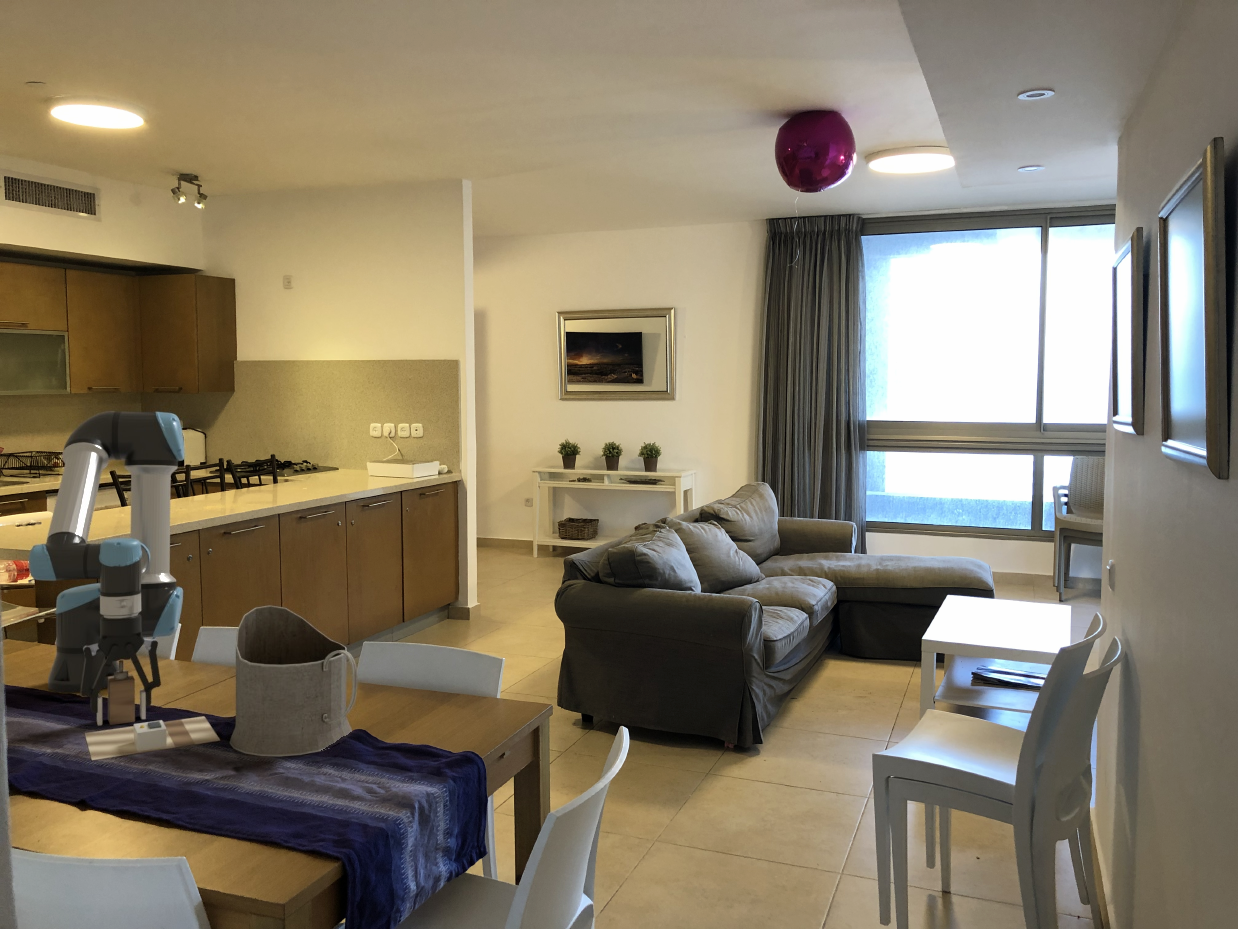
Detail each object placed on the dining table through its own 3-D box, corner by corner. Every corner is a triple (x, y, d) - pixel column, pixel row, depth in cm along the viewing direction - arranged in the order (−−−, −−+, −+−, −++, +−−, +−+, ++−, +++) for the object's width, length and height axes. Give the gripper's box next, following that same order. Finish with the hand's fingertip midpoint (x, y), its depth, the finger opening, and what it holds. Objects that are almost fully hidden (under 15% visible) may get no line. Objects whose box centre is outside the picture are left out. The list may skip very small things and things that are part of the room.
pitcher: (306, 711, 211) (307, 598, 210) (402, 743, 192) (403, 619, 191) (206, 738, 192) (206, 614, 191) (302, 776, 174) (302, 639, 172)
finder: (133, 742, 186) (133, 721, 186) (162, 737, 188) (162, 717, 188) (137, 751, 181) (137, 730, 181) (166, 747, 183) (166, 726, 183)
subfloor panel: (84, 739, 190) (84, 733, 190) (204, 722, 202) (204, 716, 202) (91, 766, 176) (91, 760, 176) (220, 746, 188) (220, 740, 188)
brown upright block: (108, 724, 199) (107, 659, 199) (132, 721, 202) (132, 657, 201) (110, 730, 196) (109, 664, 195) (134, 727, 198) (134, 662, 197)
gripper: (65, 622, 189) (66, 738, 190) (177, 613, 200) (177, 722, 201) (63, 615, 195) (63, 727, 196) (171, 607, 206) (171, 712, 207)
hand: (121, 724), depth 198 cm, fingers open, 7 cm apart
